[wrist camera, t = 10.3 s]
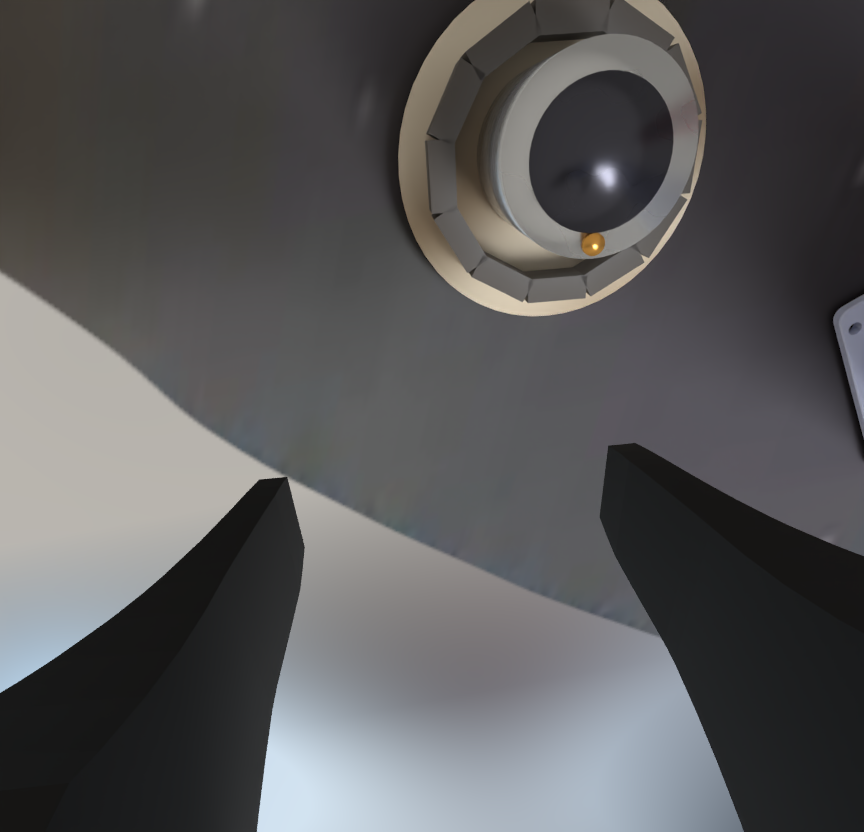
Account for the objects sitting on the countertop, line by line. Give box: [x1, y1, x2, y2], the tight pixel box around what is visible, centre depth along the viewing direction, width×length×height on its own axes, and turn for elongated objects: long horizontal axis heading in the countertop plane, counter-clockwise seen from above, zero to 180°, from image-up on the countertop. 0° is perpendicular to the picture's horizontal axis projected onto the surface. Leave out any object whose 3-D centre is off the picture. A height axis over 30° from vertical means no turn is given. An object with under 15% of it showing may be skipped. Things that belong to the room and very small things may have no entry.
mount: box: [398, 0, 706, 316], centre depth 16 cm, size 10×10×2 cm
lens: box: [477, 34, 698, 259], centre depth 14 cm, size 5×5×4 cm
